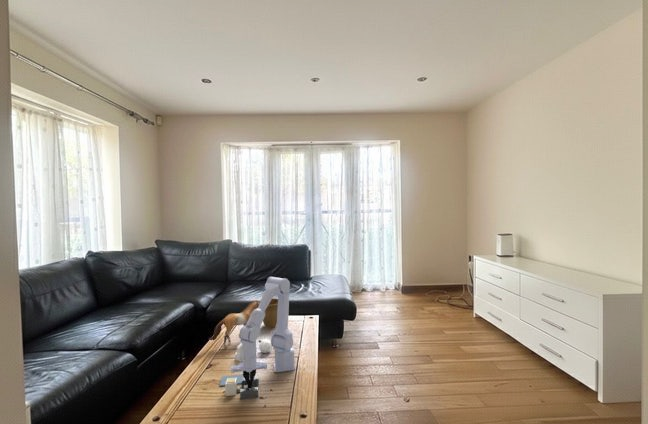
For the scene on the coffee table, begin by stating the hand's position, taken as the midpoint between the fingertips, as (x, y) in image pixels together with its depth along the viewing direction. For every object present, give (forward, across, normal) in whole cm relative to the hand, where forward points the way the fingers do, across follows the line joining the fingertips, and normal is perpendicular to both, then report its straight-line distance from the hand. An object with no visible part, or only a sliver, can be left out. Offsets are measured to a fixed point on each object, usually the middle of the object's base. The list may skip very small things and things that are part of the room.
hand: (249, 387), depth 126 cm
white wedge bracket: (+2, -6, +30) cm, 31 cm away
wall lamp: (+1, -5, 0) cm, 5 cm away
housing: (+2, 0, 0) cm, 2 cm away
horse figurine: (+2, -11, +52) cm, 53 cm away
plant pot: (+2, +10, +71) cm, 72 cm away
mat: (+2, -6, +10) cm, 12 cm away
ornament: (+2, +6, +34) cm, 35 cm away
